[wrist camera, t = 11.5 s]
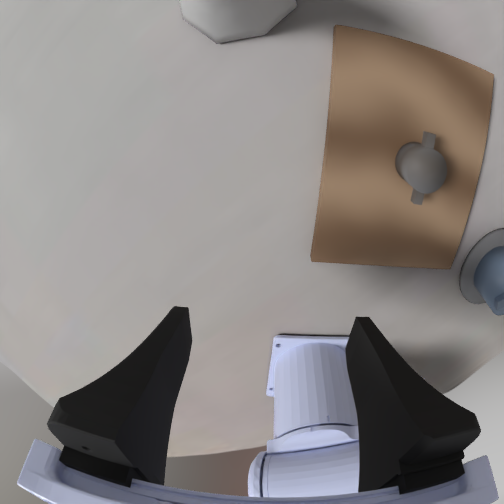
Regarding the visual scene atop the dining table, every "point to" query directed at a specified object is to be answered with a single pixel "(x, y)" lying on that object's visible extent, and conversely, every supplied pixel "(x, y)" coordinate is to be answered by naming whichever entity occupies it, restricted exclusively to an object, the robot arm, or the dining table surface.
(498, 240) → the coaster
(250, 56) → the dining table surface
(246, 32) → the flask
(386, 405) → the robot arm
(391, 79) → the post base
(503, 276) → the cap
